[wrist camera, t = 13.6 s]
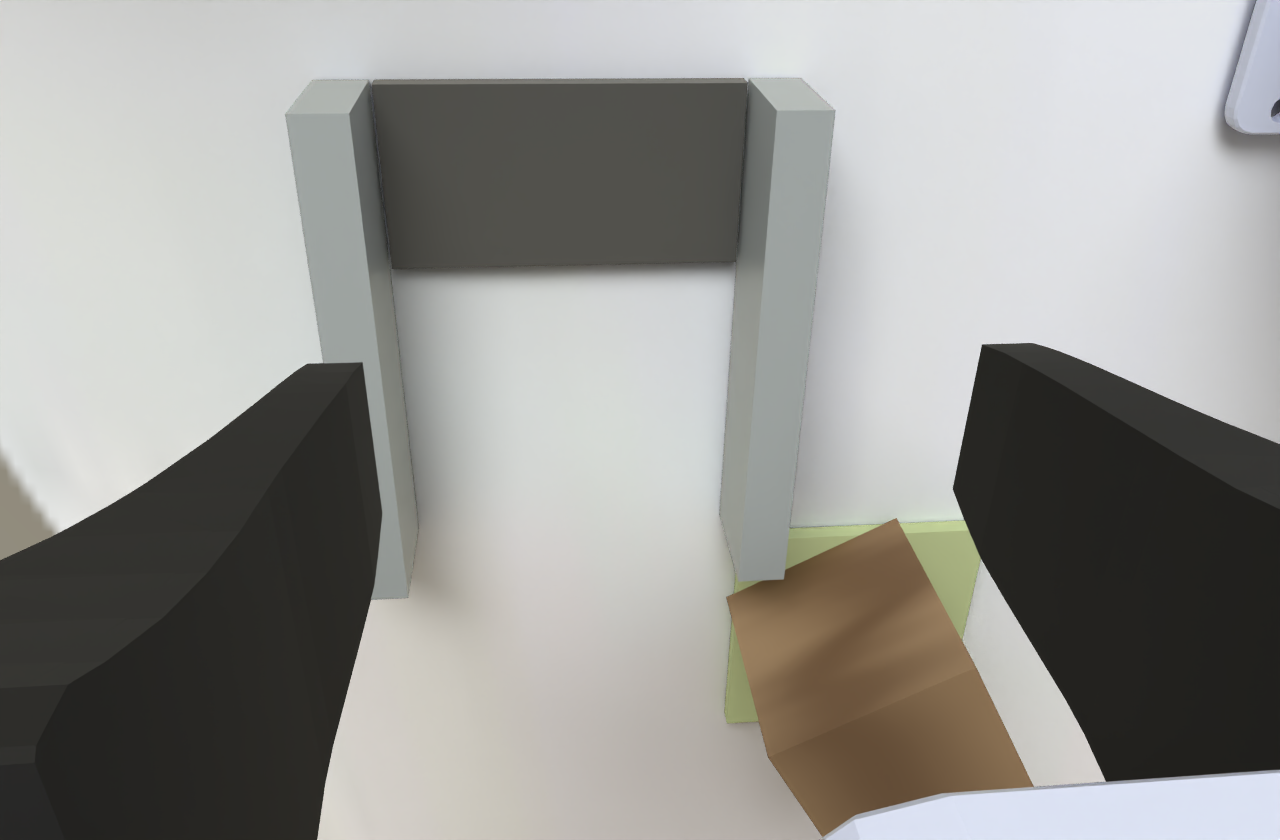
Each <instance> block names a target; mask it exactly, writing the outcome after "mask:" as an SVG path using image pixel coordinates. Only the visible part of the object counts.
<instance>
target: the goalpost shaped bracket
mask: <svg viewBox="0 0 1280 840" xmlns="http://www.w3.org/2000/svg"><path fill="white" fill-rule="evenodd" d="M747 85H748V99H747ZM372 91H373V100H374V109H375V118H376V127H377V136H378V145H379V155H380V164H381V173H382V182H383V191H384V200H385V209H386V218H387V227H388V236H389V245H390V255H391V264H392V269H402V268H451V267H501V266H549V265H598V264H648V263H696V262H736V276H735V291H734V306H733V321H732V335H731V350H730V365H729V380H728V395H727V409H726V424H725V439H724V454H723V469H722V483H721V498H720V513H719V515H720V518H721V522H722V525H723V529H724V533H725V536H726V540H727V543H728V547H729V550H730V554H731V557H732V561H733V564H734V568H735V572H736V575H737V579H738V582H741V581H761V580H782V579H784V574H785V565H786V556H787V547H788V538H789V529H790V520H791V511H792V502H793V492H794V483H795V474H796V465H797V456H798V447H799V438H800V429H801V420H802V411H803V401H804V392H805V383H806V374H807V365H808V356H809V347H810V338H811V329H812V320H813V311H814V301H815V292H816V283H817V274H818V265H819V256H820V247H821V238H822V229H823V220H824V211H825V201H826V192H827V183H828V174H829V165H830V156H831V147H832V138H833V129H834V120H835V109H834V108H833V107H832V106H830V105H829V104H828V103H827V102H826V101H825V100H824V99H823V98H822V97H821V96H820V95H819V94H818V93H817V92H815V91H814V90H813V89H812V88H811V87H810V86H809V85H808V84H807V83H806V82H805V81H804V80H803V79H802V78H749V84H748V83H747V82H746V80H745V79H744V78H678V79H410V80H374V81H373V83H372ZM746 99H747V113H746ZM745 114H746V128H745ZM285 116H286V123H287V129H288V136H289V142H290V149H291V155H292V162H293V168H294V175H295V181H296V188H297V194H298V201H299V208H300V214H301V221H302V227H303V234H304V240H305V247H306V253H307V260H308V266H309V273H310V279H311V286H312V293H313V299H314V306H315V312H316V319H317V325H318V332H319V338H320V345H321V351H322V358H323V363H354V362H363V369H364V376H365V384H366V391H367V399H368V407H369V414H370V422H371V429H372V437H373V445H374V452H375V460H376V467H377V475H378V483H379V490H380V498H381V505H382V522H381V532H380V542H379V552H378V560H377V569H376V577H375V585H374V589H373V593H372V597H371V600H377V599H398V598H408V597H409V590H410V583H411V577H412V570H413V563H414V556H415V549H416V543H417V536H418V529H419V526H418V517H417V508H416V499H415V490H414V481H413V472H412V463H411V454H410V445H409V436H408V427H407V418H406V409H405V400H404V391H403V382H402V373H401V364H400V355H399V346H398V337H397V328H396V319H395V310H394V301H393V292H392V283H391V274H390V265H389V256H388V247H387V238H386V229H385V220H384V211H383V202H382V193H381V184H380V175H379V166H378V157H377V148H376V139H375V130H374V121H373V112H372V103H371V94H370V85H369V80H312V81H311V82H310V84H309V85H308V86H307V87H306V89H305V90H304V91H303V92H302V94H301V95H300V96H299V97H298V99H297V100H296V101H295V102H294V104H293V105H292V106H291V107H290V109H289V110H288V111H287V112H286V113H285ZM744 129H745V143H744ZM743 144H744V158H743ZM742 159H743V173H742ZM741 174H742V187H741ZM740 189H741V202H740ZM739 204H740V217H739ZM738 219H739V232H738ZM737 233H738V247H737ZM736 248H737V261H736Z"/></svg>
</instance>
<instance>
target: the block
mask: <svg viewBox="0 0 1280 840" xmlns="http://www.w3.org/2000/svg"><path fill="white" fill-rule="evenodd" d="M726 598H727V602H728V605H729V609H730V613H731V617H732V621H733V625H734V628H735V632H736V636H737V640H738V644H739V647H740V651H741V655H742V659H743V663H744V667H745V670H746V674H747V678H748V682H749V686H750V690H751V693H752V697H753V701H754V705H755V709H756V713H757V716H758V720H759V724H760V728H761V732H762V735H763V739H764V743H765V747H766V751H767V755H768V758H769V759H770V761H771V762H772V764H773V765H774V767H775V768H776V770H777V771H778V772H779V774H780V775H781V777H782V778H783V780H784V781H785V783H786V784H787V786H788V787H789V789H790V790H791V791H792V793H793V794H794V796H795V797H796V799H797V800H798V802H799V803H800V805H801V806H802V808H803V809H804V810H805V812H806V813H807V815H808V816H809V818H810V819H811V821H812V822H813V824H814V825H815V827H816V828H817V829H818V831H819V832H820V834H821V835H822V837H824V836H825V835H827V834H828V833H830V832H831V831H833V830H834V829H836V828H837V827H838V826H840V825H841V824H843V823H844V822H846V821H847V820H849V819H850V818H852V817H853V816H855V815H857V814H861V813H865V812H869V811H873V810H877V809H881V808H885V807H889V806H893V805H897V804H901V803H905V802H909V801H913V800H917V799H921V798H925V797H929V796H933V795H937V794H941V793H954V792H968V791H982V790H997V789H1011V788H1025V787H1034V786H1033V784H1032V782H1031V780H1030V778H1029V776H1028V774H1027V772H1026V770H1025V768H1024V766H1023V763H1022V761H1021V759H1020V757H1019V755H1018V753H1017V751H1016V749H1015V747H1014V745H1013V743H1012V741H1011V739H1010V737H1009V734H1008V732H1007V730H1006V728H1005V726H1004V724H1003V722H1002V720H1001V718H1000V716H999V714H998V712H997V710H996V708H995V705H994V703H993V701H992V699H991V697H990V695H989V693H988V691H987V689H986V687H985V685H984V683H983V681H982V679H981V676H980V674H979V672H978V670H977V668H976V666H975V664H974V662H973V661H972V659H971V657H970V655H969V653H968V651H967V649H966V647H965V646H964V644H963V642H962V640H961V638H960V636H959V634H958V632H957V631H956V629H955V627H954V625H953V623H952V621H951V619H950V617H949V616H948V614H947V612H946V610H945V608H944V606H943V604H942V603H941V601H940V599H939V597H938V595H937V593H936V591H935V589H934V588H933V586H932V584H931V582H930V580H929V578H928V576H927V574H926V573H925V571H924V569H923V567H922V565H921V563H920V561H919V559H918V558H917V556H916V554H915V552H914V550H913V548H912V546H911V544H910V543H909V541H908V539H907V537H906V535H905V533H904V531H903V529H902V528H901V526H900V524H899V522H898V520H897V518H896V519H894V520H891V521H889V522H887V523H885V524H883V525H881V526H879V527H876V528H874V529H872V530H870V531H868V532H866V533H863V534H861V535H859V536H857V537H855V538H853V539H851V540H848V541H846V542H844V543H842V544H840V545H838V546H836V547H833V548H831V549H829V550H827V551H825V552H823V553H820V554H818V555H816V556H814V557H812V558H810V559H808V560H805V561H803V562H801V563H799V564H797V565H795V566H792V567H790V568H788V569H786V570H785V574H784V579H782V580H762V581H760V582H758V583H756V584H754V585H752V586H749V587H747V588H745V589H743V590H741V591H739V592H737V593H734V594H732V595H730V596H728V597H726Z"/></svg>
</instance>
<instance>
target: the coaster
mask: <svg viewBox="0 0 1280 840" xmlns="http://www.w3.org/2000/svg"><path fill="white" fill-rule="evenodd" d="M899 524H900V526H901V528H902V529H903V531H904V533H905V535H906V537H907V539H908V541H909V543H910V544H911V546H912V548H913V550H914V552H915V554H916V556H917V558H918V559H919V561H920V563H921V565H922V567H923V569H924V571H925V573H926V574H927V576H928V578H929V580H930V582H931V584H932V586H933V588H934V589H935V591H936V593H937V595H938V597H939V599H940V601H941V603H942V604H943V606H944V608H945V610H946V612H947V614H948V616H949V617H950V619H951V621H952V623H953V625H954V627H955V629H956V631H957V632H958V634H959V636H960V638H961V640H962V638H963V634H964V629H965V625H966V620H967V616H968V612H969V607H970V603H971V598H972V594H973V590H974V585H975V581H976V576H977V572H978V568H979V563H980V559H981V557H980V556H979V553H978V551H977V549H976V546H975V544H974V542H973V539H972V537H971V535H970V532H969V530H968V528H967V525H966V523H965V521H944V522H922V523H899ZM881 525H883V524H877V525H855V526H833V527H810V528H790V529H789V538H788V547H787V556H786V565H785V570H786V569H788V568H790V567H792V566H795V565H797V564H799V563H801V562H803V561H805V560H808V559H810V558H812V557H814V556H816V555H818V554H820V553H823V552H825V551H827V550H829V549H831V548H833V547H836V546H838V545H840V544H842V543H844V542H846V541H848V540H851V539H853V538H855V537H857V536H859V535H861V534H863V533H866V532H868V531H870V530H872V529H874V528H876V527H879V526H881ZM761 581H762V580H761ZM758 582H760V581H741V582H738V579H737V575H736V573H735V586H734V593H737V592H739V591H741V590H743V589H745V588H747V587H749V586H752V585H754V584H756V583H758ZM724 713H725V717H726V722H727V723H742V722H758V721H759V720H758V716H757V713H756V709H755V705H754V701H753V697H752V693H751V690H750V686H749V682H748V678H747V674H746V670H745V667H744V663H743V659H742V655H741V651H740V647H739V644H738V640H737V636H736V632H735V628H734V625H733V621H732V623H731V636H730V648H729V661H728V673H727V686H726V698H725V711H724Z"/></svg>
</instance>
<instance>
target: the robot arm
mask: <svg viewBox="0 0 1280 840" xmlns="http://www.w3.org/2000/svg"><path fill="white" fill-rule="evenodd" d="M1279 99H1280V0H1256V4H1255V7H1254V10H1253V14H1252V17H1251V21H1250V24H1249V27H1248V31H1247V34H1246V37H1245V41H1244V44H1243V48H1242V51H1241V54H1240V58H1239V61H1238V65H1237V68H1236V71H1235V75H1234V78H1233V81H1232V85H1231V88H1230V92H1229V95H1228V98H1227V102H1226V105H1225V114H1224V116H1225V119H1226V122H1227V124H1228V125H1229V126H1230V127H1231V128H1233V129H1234V130H1237V131H1239V132H1241V133H1245V134H1250V135H1273V134H1280V112H1279V113H1278V114H1276V115H1275V116H1274V117H1271V109H1272V107H1273V106H1274V104H1275V102H1276V101H1278V100H1279ZM953 491H954V493H955V496H956V499H957V501H958V504H959V507H960V509H961V512H962V515H963V517H964V520H965V523H966V525H967V528H968V530H969V532H970V535H971V537H972V539H973V542H974V544H975V546H976V549H977V551H978V553H979V556H980V557H981V559H982V561H983V563H984V564H985V566H986V568H987V570H988V572H989V573H990V575H991V577H992V578H993V580H994V582H995V583H996V585H997V587H998V589H999V590H1000V592H1001V594H1002V595H1003V597H1004V599H1005V600H1006V602H1007V604H1008V605H1009V607H1010V609H1011V610H1012V612H1013V614H1014V615H1015V617H1016V619H1017V620H1018V622H1019V624H1020V625H1021V627H1022V629H1023V630H1024V632H1025V633H1026V635H1027V637H1028V638H1029V640H1030V642H1031V643H1032V645H1033V647H1034V648H1035V650H1036V652H1037V653H1038V655H1039V657H1040V658H1041V660H1042V661H1043V663H1044V665H1045V666H1046V668H1047V670H1048V671H1049V673H1050V675H1051V676H1052V678H1053V680H1054V681H1055V683H1056V685H1057V686H1058V688H1059V690H1060V691H1061V693H1062V694H1063V696H1064V698H1065V699H1066V701H1067V703H1068V705H1069V707H1070V709H1071V710H1072V712H1073V714H1074V716H1075V718H1076V720H1077V721H1078V723H1079V725H1080V727H1081V729H1082V731H1083V732H1084V734H1085V737H1086V739H1087V741H1088V743H1089V745H1090V747H1091V750H1092V752H1093V754H1094V756H1095V758H1096V761H1097V763H1098V765H1099V767H1100V769H1101V771H1102V774H1103V776H1104V778H1105V780H1106V782H1096V783H1082V784H1068V785H1054V786H1039V787H1025V788H1011V789H997V790H982V791H968V792H954V793H941V794H937V795H933V796H929V797H925V798H921V799H917V800H913V801H909V802H905V803H901V804H897V805H893V806H889V807H885V808H881V809H877V810H873V811H869V812H865V813H861V814H857V815H855V816H853V817H852V818H850V819H849V820H847V821H846V822H844V823H843V824H841V825H840V826H838V827H837V828H836V829H834V830H833V831H831V832H830V833H828V834H827V835H825V836H824V837H822V838H821V839H819V840H1280V444H1278V443H1275V442H1273V441H1270V440H1268V439H1265V438H1262V437H1260V436H1257V435H1255V434H1252V433H1250V432H1247V431H1245V430H1242V429H1240V428H1237V427H1234V426H1232V425H1229V424H1227V423H1224V422H1222V421H1220V420H1217V419H1215V418H1213V417H1210V416H1208V415H1205V414H1203V413H1201V412H1198V411H1196V410H1194V409H1191V408H1189V407H1187V406H1184V405H1182V404H1180V403H1177V402H1175V401H1173V400H1171V399H1168V398H1166V397H1164V396H1162V395H1159V394H1157V393H1155V392H1153V391H1150V390H1148V389H1146V388H1144V387H1141V386H1139V385H1137V384H1135V383H1133V382H1130V381H1128V380H1126V379H1123V378H1121V377H1119V376H1117V375H1114V374H1112V373H1110V372H1108V371H1105V370H1103V369H1101V368H1099V367H1096V366H1094V365H1092V364H1089V363H1087V362H1084V361H1082V360H1080V359H1077V358H1075V357H1072V356H1070V355H1067V354H1065V353H1062V352H1059V351H1056V350H1053V349H1051V348H1048V347H1044V346H1040V345H1037V344H1033V343H1020V344H984V345H982V347H981V352H980V357H979V362H978V367H977V372H976V377H975V382H974V387H973V392H972V397H971V402H970V407H969V412H968V417H967V421H966V426H965V431H964V436H963V441H962V446H961V451H960V456H959V461H958V466H957V471H956V476H955V481H954V486H953ZM381 522H382V505H381V498H380V490H379V483H378V475H377V467H376V460H375V452H374V445H373V437H372V429H371V422H370V414H369V407H368V399H367V391H366V384H365V376H364V369H363V362H354V363H319V364H306V365H305V366H303V367H302V368H300V369H298V370H297V371H296V372H294V373H293V374H292V375H290V376H289V377H288V378H286V379H285V380H284V381H283V382H281V383H280V384H279V385H277V386H276V387H275V388H274V389H272V390H271V391H270V392H269V393H267V394H266V395H265V396H264V397H262V398H261V399H260V400H259V401H258V402H256V403H255V404H254V405H253V406H251V407H250V408H249V409H247V410H246V411H245V412H244V413H242V414H241V415H240V416H238V417H237V418H236V419H235V420H233V421H232V422H231V423H229V424H228V425H227V426H226V427H224V428H223V429H222V430H220V431H219V432H218V433H217V434H215V435H214V436H213V437H211V438H210V439H209V440H207V441H206V442H204V443H203V444H202V445H200V446H199V447H197V448H196V449H194V450H193V451H191V452H190V453H189V454H187V455H186V456H184V457H183V458H181V459H180V460H179V461H177V462H176V463H174V464H173V465H171V466H170V467H168V468H167V469H166V470H164V471H163V472H161V473H160V474H158V475H157V476H156V477H154V478H153V479H151V480H150V481H148V482H147V483H145V484H144V485H142V486H141V487H139V488H137V489H136V490H134V491H133V492H131V493H129V494H128V495H126V496H124V497H123V498H121V499H119V500H118V501H116V502H114V503H113V504H111V505H109V506H108V507H106V508H104V509H102V510H100V511H98V512H97V513H95V514H93V515H91V516H89V517H88V518H86V519H84V520H82V521H80V522H79V523H77V524H75V525H73V526H71V527H69V528H68V529H66V530H64V531H62V532H60V533H58V534H56V535H54V536H52V537H51V538H48V539H46V540H44V541H42V542H39V543H37V544H35V545H33V546H31V547H28V548H27V549H24V550H22V551H20V552H18V553H15V554H13V555H11V556H9V557H7V558H4V559H2V560H0V840H317V837H318V830H319V823H320V816H321V809H322V802H323V795H324V788H325V782H326V777H327V772H328V767H329V763H330V758H331V753H332V748H333V744H334V740H335V736H336V732H337V729H338V725H339V721H340V717H341V713H342V709H343V706H344V702H345V698H346V694H347V690H348V687H349V683H350V679H351V675H352V671H353V667H354V664H355V660H356V656H357V652H358V648H359V645H360V641H361V637H362V633H363V629H364V625H365V621H366V617H367V613H368V609H369V605H370V601H371V597H372V593H373V589H374V585H375V577H376V569H377V560H378V552H379V542H380V532H381Z"/></svg>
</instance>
